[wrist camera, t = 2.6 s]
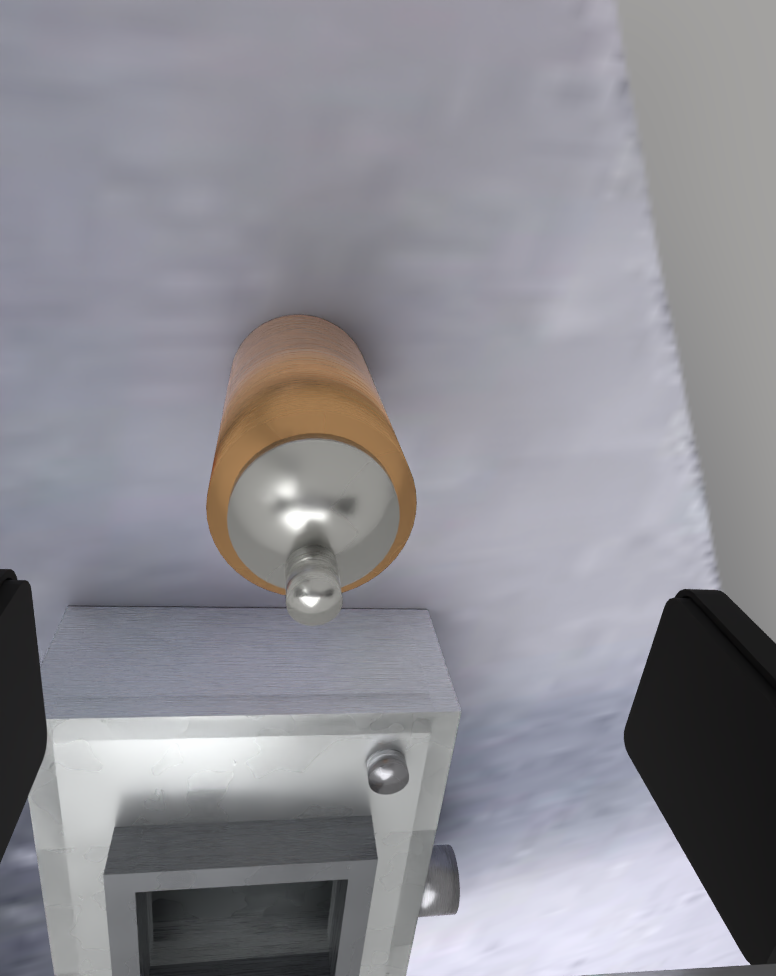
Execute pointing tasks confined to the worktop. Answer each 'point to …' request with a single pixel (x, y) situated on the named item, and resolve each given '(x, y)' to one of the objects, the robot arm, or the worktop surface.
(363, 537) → the spout can
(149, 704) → the plate
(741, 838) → the robot arm
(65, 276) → the worktop surface
